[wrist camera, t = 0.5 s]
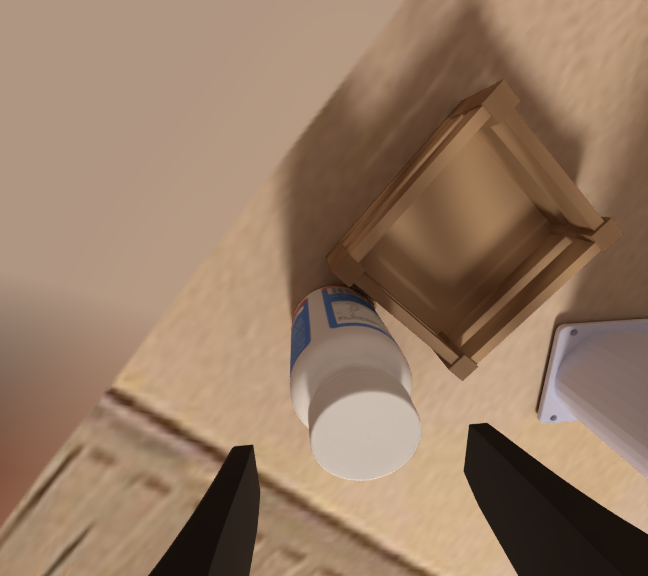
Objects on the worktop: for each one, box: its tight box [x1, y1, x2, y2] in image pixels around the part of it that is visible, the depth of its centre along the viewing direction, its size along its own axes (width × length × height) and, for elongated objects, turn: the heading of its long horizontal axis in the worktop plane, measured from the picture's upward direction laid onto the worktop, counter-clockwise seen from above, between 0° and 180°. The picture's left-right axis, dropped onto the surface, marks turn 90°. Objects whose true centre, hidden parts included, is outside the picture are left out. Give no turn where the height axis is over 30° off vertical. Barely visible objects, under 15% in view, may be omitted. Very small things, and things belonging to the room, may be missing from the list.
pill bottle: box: [290, 286, 421, 481], centre depth 16 cm, size 6×5×10 cm
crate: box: [326, 79, 624, 381], centre depth 17 cm, size 11×10×4 cm
